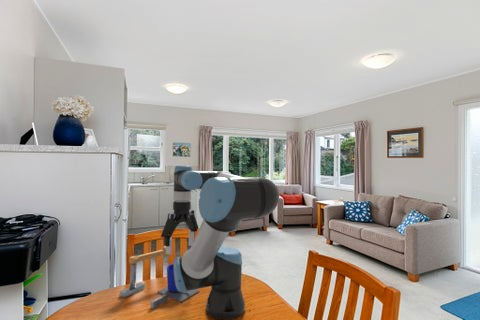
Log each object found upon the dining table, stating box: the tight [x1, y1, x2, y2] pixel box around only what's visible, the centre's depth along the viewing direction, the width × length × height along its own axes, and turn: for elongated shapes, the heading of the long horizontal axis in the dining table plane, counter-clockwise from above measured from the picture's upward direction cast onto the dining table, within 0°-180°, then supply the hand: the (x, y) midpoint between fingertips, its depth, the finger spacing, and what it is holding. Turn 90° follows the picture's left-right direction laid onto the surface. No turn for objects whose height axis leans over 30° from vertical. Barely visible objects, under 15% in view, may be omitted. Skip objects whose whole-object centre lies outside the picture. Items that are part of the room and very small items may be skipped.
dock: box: [119, 263, 168, 310], centre depth 108 cm, size 19×10×12 cm, turn 58°
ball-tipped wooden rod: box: [128, 245, 167, 265], centre depth 118 cm, size 19×4×3 cm, turn 139°
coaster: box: [157, 286, 200, 304], centre depth 114 cm, size 14×11×1 cm
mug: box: [166, 263, 179, 293], centre depth 114 cm, size 8×12×10 cm
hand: (180, 249), depth 114 cm, fingers open, 13 cm apart
